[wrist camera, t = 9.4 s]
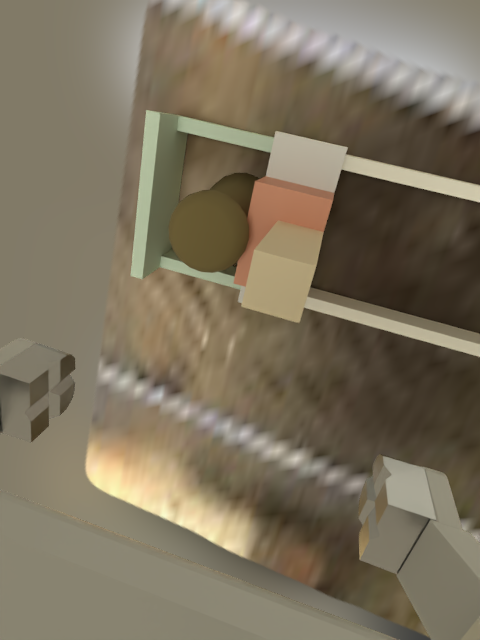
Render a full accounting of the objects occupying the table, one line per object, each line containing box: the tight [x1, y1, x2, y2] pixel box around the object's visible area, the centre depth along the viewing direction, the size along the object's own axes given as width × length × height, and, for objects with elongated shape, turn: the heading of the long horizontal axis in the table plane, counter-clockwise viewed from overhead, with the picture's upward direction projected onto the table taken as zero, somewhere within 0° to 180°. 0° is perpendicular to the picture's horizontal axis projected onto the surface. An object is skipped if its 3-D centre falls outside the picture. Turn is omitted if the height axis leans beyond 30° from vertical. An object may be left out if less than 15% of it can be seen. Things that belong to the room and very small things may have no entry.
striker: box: [234, 131, 348, 323], centre depth 27 cm, size 5×13×16 cm, turn 168°
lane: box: [131, 110, 480, 357], centre depth 31 cm, size 30×12×6 cm, turn 78°
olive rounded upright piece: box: [168, 173, 259, 273], centre depth 30 cm, size 6×6×11 cm
